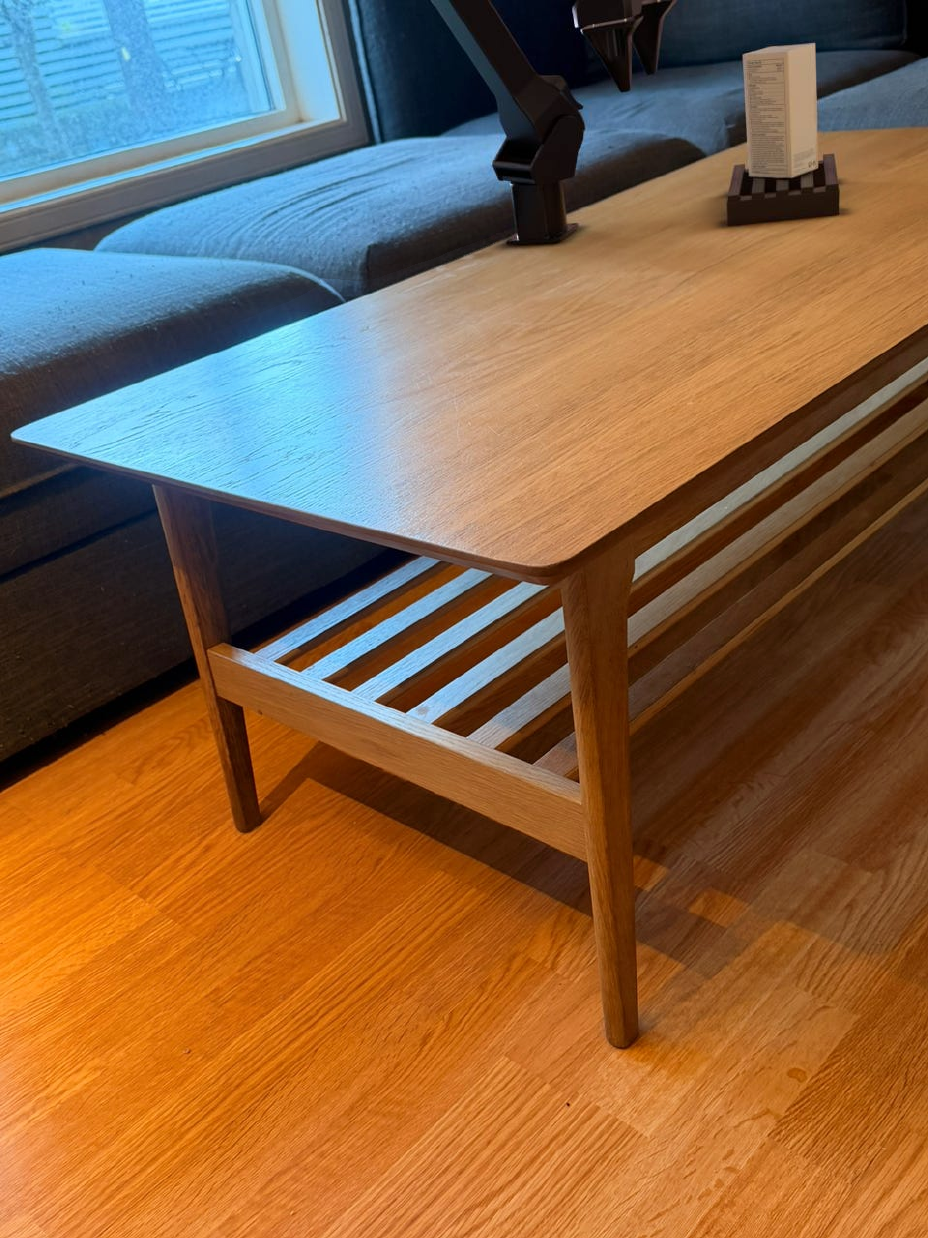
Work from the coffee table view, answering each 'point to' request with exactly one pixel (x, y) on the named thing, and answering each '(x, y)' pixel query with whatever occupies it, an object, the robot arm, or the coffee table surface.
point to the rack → (783, 195)
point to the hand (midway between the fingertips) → (638, 82)
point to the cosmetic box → (781, 110)
